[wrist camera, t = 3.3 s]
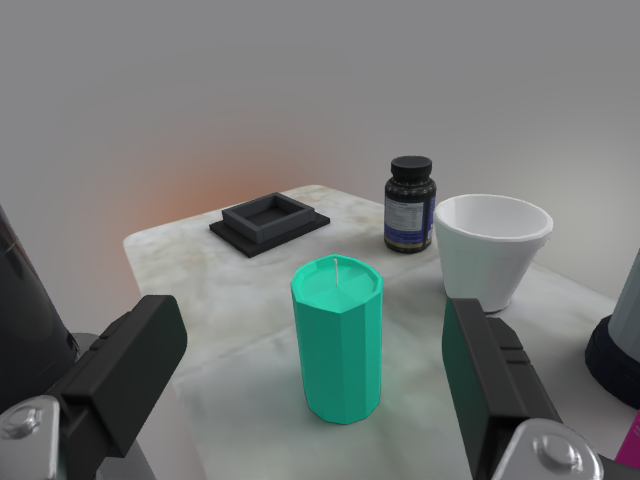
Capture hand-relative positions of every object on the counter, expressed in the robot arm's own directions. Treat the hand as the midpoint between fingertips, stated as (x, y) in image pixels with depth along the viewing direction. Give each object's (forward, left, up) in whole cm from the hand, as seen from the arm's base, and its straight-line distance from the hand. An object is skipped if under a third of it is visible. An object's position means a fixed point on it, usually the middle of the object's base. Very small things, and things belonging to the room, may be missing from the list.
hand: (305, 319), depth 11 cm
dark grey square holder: (+20, +37, -17) cm, 45 cm away
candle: (+8, +8, -17) cm, 20 cm away
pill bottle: (+30, +19, -17) cm, 39 cm away
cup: (+26, +7, -17) cm, 32 cm away
